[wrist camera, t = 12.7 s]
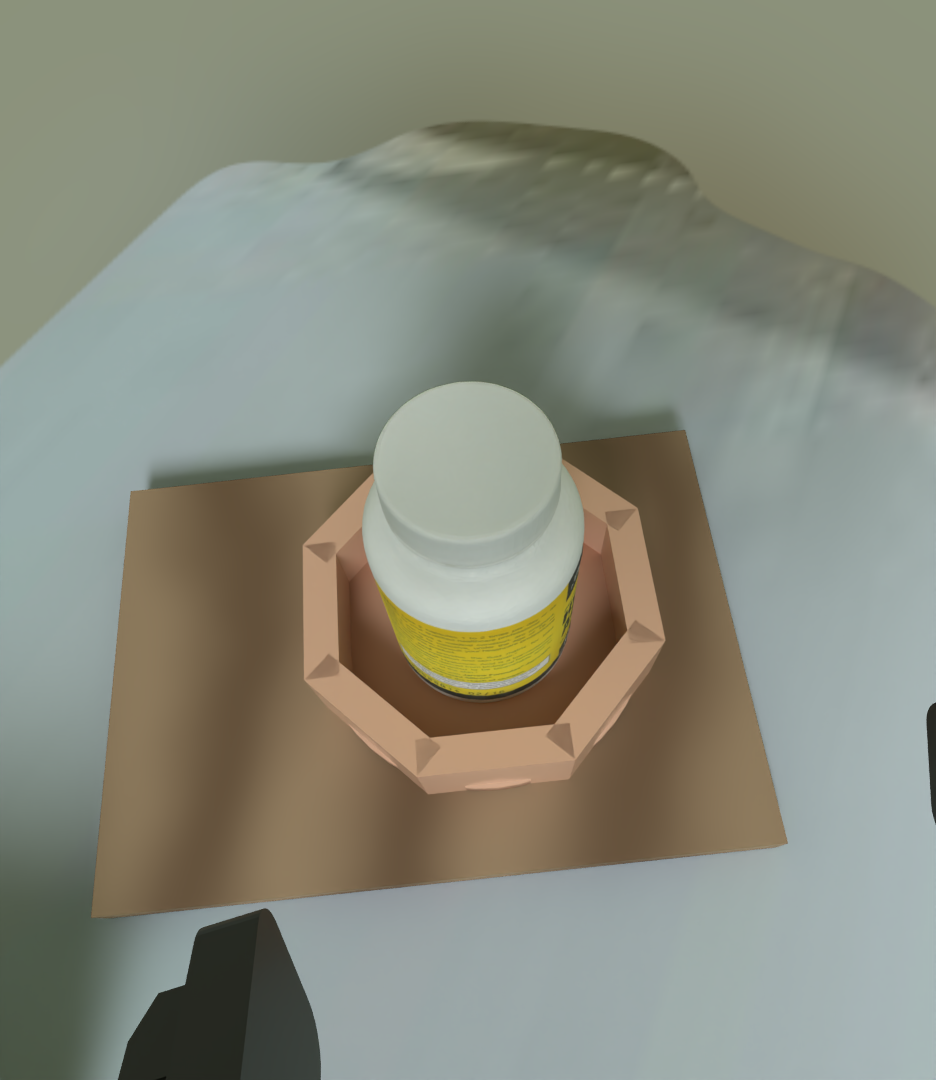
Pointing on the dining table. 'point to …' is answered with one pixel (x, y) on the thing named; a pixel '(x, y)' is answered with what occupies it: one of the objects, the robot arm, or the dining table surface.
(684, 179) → the dining table surface
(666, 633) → the walnut board
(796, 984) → the dining table surface
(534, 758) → the octagonal planter bowl
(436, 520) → the supplement bottle
